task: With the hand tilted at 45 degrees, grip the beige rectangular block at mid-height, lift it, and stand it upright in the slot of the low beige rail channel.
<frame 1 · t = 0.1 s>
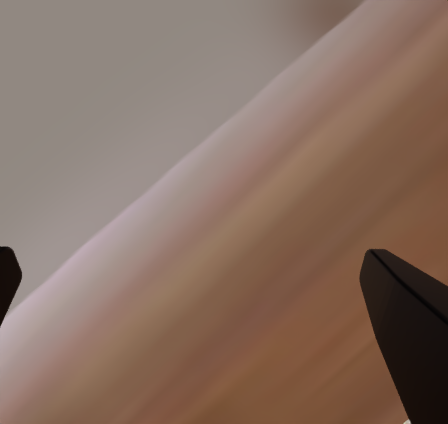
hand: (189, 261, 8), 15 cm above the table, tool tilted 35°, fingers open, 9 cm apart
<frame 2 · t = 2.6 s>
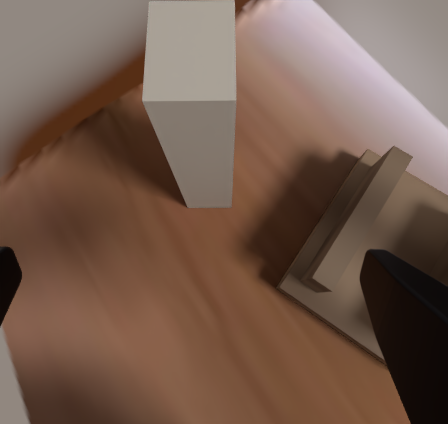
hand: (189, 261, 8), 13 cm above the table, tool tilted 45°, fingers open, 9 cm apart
beige rail channel: (379, 257, 22), on the table
beige rectangular block: (209, 180, 23), on the table
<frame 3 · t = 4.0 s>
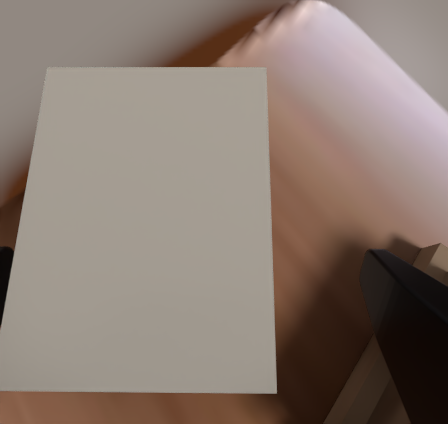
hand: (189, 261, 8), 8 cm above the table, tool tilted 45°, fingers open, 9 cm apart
beige rectangular block: (206, 279, 16), on the table
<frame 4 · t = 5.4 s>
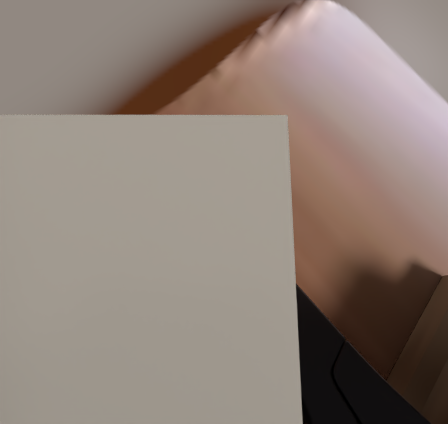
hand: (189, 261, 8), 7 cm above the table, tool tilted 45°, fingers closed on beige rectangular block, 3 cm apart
beige rectangular block: (204, 310, 14), on the table, touching gripper
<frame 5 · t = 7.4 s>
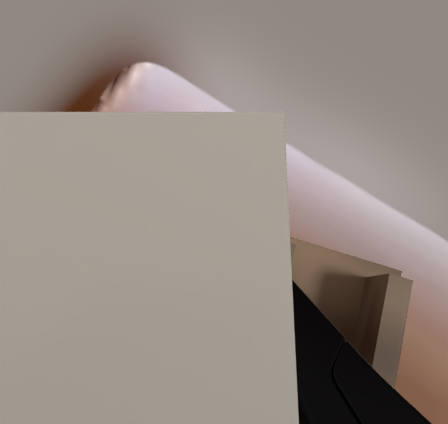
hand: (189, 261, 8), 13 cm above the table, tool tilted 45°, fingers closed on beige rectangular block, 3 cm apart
beige rail channel: (302, 336, 21), on the table
beige rectangular block: (204, 310, 14), point 7 cm above the table, touching gripper
when the fingers open (9 cm above the table, at t = 9.5 s): beige rectangular block drops 1 cm, resting on beige rail channel.
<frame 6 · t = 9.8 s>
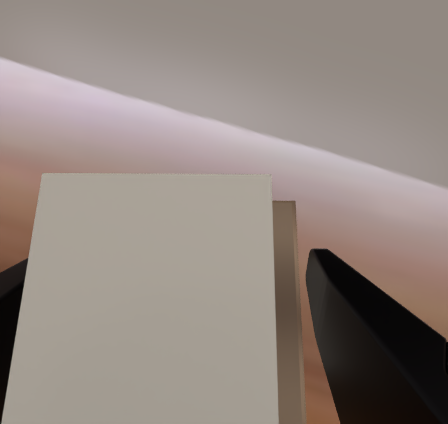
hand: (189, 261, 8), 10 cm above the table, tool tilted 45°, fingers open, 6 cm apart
beige rail channel: (208, 308, 17), on the table
beige rectangular block: (207, 309, 16), point 1 cm above the table, touching beige rail channel
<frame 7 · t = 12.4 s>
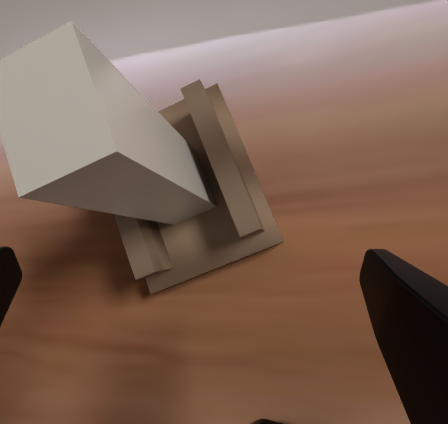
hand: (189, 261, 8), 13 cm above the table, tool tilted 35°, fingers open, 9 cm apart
beige rail channel: (190, 191, 23), on the table
beige rectangular block: (184, 187, 21), point 1 cm above the table, touching beige rail channel
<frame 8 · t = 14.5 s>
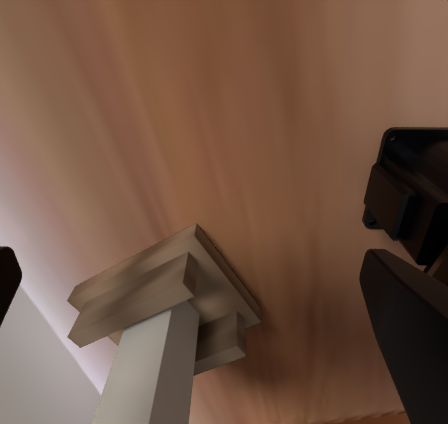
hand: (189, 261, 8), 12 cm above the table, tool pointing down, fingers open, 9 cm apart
beige rail channel: (169, 296, 25), on the table
beige rectangular block: (165, 311, 24), point 1 cm above the table, touching beige rail channel
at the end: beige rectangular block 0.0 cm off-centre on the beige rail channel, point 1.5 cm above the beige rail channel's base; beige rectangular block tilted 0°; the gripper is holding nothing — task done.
